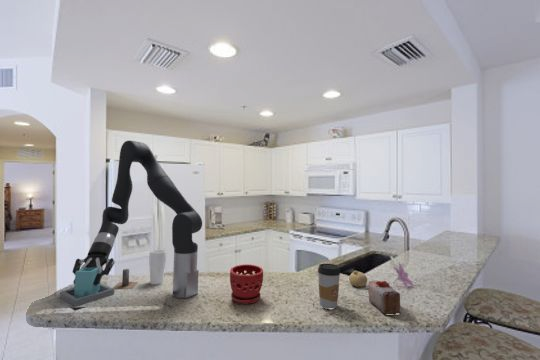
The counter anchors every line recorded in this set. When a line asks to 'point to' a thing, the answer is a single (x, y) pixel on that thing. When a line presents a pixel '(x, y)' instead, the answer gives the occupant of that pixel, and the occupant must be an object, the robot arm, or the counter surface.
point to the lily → (403, 276)
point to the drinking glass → (157, 266)
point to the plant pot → (246, 283)
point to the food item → (384, 297)
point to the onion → (358, 279)
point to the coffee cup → (328, 285)
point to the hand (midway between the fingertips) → (85, 284)
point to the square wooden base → (125, 281)
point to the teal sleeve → (86, 282)
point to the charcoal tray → (75, 301)
